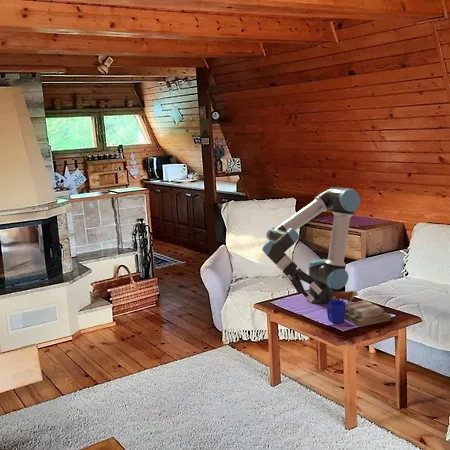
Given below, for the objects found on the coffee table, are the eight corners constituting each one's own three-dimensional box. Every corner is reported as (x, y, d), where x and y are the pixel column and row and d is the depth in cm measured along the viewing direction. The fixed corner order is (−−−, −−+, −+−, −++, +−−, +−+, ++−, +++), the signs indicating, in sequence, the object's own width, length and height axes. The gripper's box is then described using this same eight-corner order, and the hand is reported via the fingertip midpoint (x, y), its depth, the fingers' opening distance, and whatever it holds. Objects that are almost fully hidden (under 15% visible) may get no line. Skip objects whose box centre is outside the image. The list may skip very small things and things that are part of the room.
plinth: (338, 315, 294) (337, 303, 293) (367, 309, 300) (367, 298, 299) (359, 326, 275) (359, 315, 274) (390, 320, 281) (390, 308, 280)
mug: (321, 324, 282) (320, 305, 280) (335, 317, 290) (335, 299, 288) (335, 327, 276) (334, 308, 274) (349, 320, 284) (348, 301, 282)
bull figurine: (358, 305, 306) (358, 290, 305) (333, 305, 309) (333, 291, 308) (358, 302, 311) (358, 288, 309) (333, 302, 314) (333, 288, 312)
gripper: (290, 264, 300) (318, 294, 296) (273, 277, 278) (304, 309, 274) (299, 255, 297) (328, 285, 293) (283, 267, 275) (314, 299, 271)
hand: (316, 296), depth 284 cm, fingers open, 13 cm apart
